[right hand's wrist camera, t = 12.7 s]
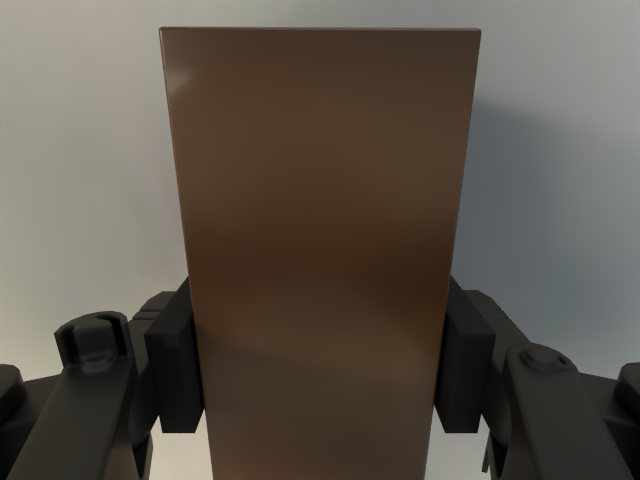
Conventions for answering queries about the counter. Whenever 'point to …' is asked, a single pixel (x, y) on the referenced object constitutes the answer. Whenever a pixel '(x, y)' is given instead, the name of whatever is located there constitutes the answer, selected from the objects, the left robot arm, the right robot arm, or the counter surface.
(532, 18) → the counter surface
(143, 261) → the counter surface
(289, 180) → the bar
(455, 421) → the right robot arm
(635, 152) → the counter surface
